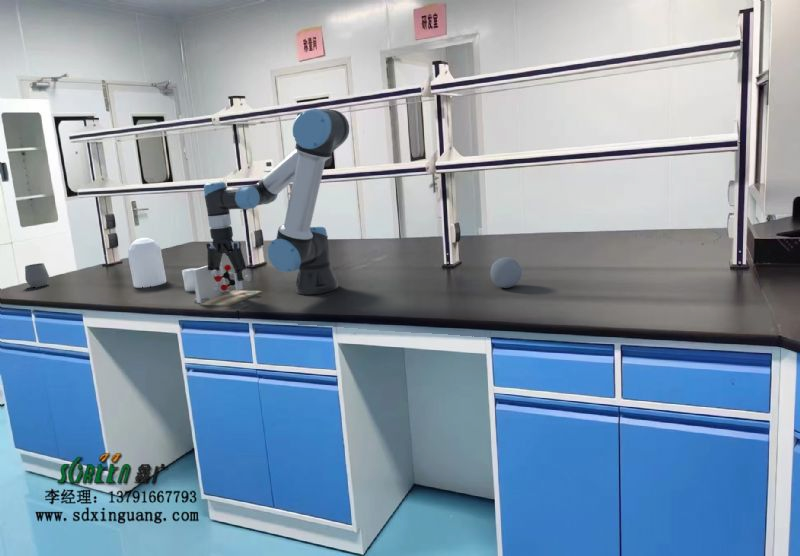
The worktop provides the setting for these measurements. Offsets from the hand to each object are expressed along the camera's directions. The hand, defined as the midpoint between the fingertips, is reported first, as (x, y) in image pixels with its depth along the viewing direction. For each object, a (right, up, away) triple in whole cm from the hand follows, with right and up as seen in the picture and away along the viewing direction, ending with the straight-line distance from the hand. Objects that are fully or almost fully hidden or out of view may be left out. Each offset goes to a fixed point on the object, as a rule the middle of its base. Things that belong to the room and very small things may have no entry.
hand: (229, 289), depth 221 cm
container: (-46, +1, +43) cm, 63 cm away
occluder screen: (-8, -3, +5) cm, 9 cm away
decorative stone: (+96, +1, -20) cm, 98 cm away
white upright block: (-21, 0, +23) cm, 31 cm away
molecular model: (0, 0, +1) cm, 1 cm away
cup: (-105, 0, +61) cm, 121 cm away
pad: (0, -3, +1) cm, 3 cm away
